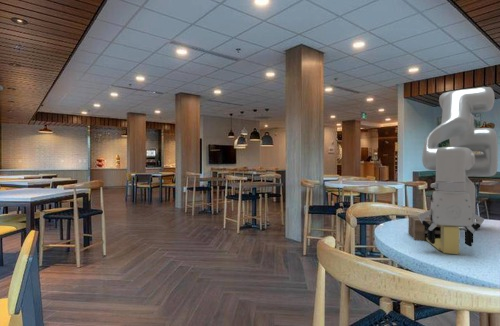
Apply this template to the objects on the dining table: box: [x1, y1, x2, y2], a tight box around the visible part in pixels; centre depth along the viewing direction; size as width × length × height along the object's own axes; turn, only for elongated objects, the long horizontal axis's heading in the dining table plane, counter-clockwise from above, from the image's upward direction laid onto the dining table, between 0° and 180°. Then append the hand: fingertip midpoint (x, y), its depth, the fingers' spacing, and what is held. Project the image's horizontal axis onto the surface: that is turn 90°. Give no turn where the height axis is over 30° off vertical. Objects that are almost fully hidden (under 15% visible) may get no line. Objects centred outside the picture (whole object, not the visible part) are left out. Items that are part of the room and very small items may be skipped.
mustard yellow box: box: [425, 225, 460, 255], centre depth 99 cm, size 17×5×8 cm, turn 165°
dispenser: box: [408, 215, 441, 241], centre depth 112 cm, size 11×12×7 cm
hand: (449, 244), depth 93 cm, fingers open, 9 cm apart
